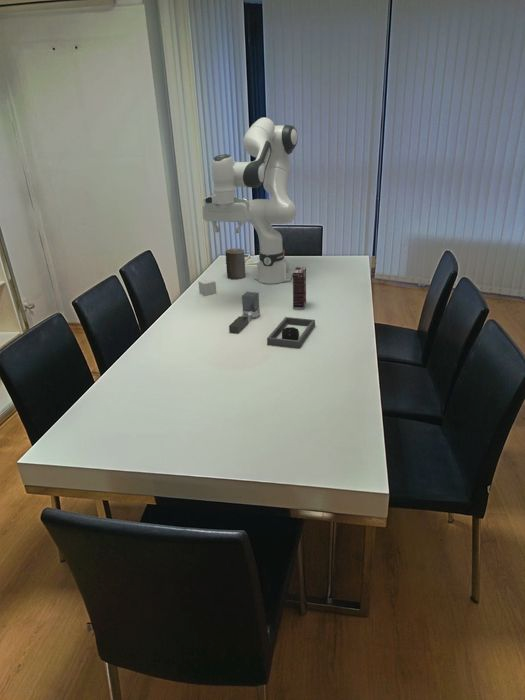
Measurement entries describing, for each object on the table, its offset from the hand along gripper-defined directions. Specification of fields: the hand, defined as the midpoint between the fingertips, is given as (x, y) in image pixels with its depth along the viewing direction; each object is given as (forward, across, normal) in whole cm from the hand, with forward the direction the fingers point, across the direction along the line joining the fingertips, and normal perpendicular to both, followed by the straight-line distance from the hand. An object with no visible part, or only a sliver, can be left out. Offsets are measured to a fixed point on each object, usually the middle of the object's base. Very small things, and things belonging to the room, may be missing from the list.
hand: (227, 232), depth 203 cm
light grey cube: (+31, +17, -9) cm, 37 cm away
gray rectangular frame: (+31, -36, +27) cm, 55 cm away
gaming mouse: (+32, -36, +31) cm, 57 cm away
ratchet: (+31, -14, +20) cm, 40 cm away
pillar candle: (+31, +14, -36) cm, 50 cm away
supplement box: (+31, -30, -3) cm, 43 cm away
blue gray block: (+28, -14, +13) cm, 34 cm away
